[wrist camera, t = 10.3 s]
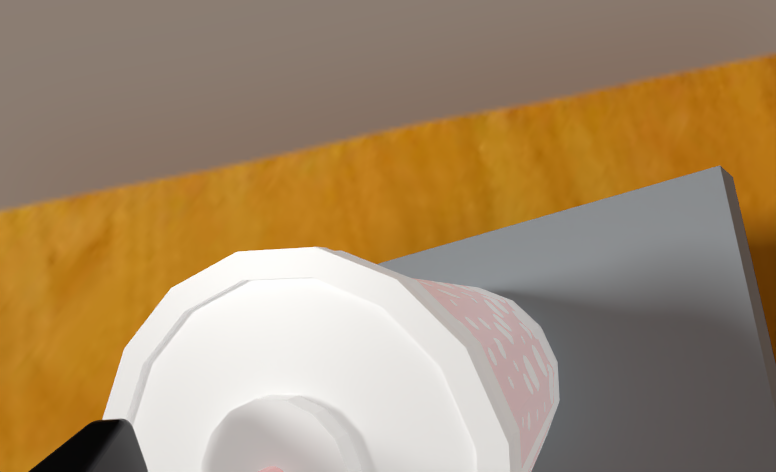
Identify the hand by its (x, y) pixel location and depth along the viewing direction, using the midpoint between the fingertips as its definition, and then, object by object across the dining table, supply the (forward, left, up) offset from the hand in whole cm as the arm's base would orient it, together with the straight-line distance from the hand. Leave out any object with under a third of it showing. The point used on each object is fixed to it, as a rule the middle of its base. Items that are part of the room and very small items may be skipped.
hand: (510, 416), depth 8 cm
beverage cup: (+1, -1, -9) cm, 10 cm away
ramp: (-1, -2, -13) cm, 13 cm away
